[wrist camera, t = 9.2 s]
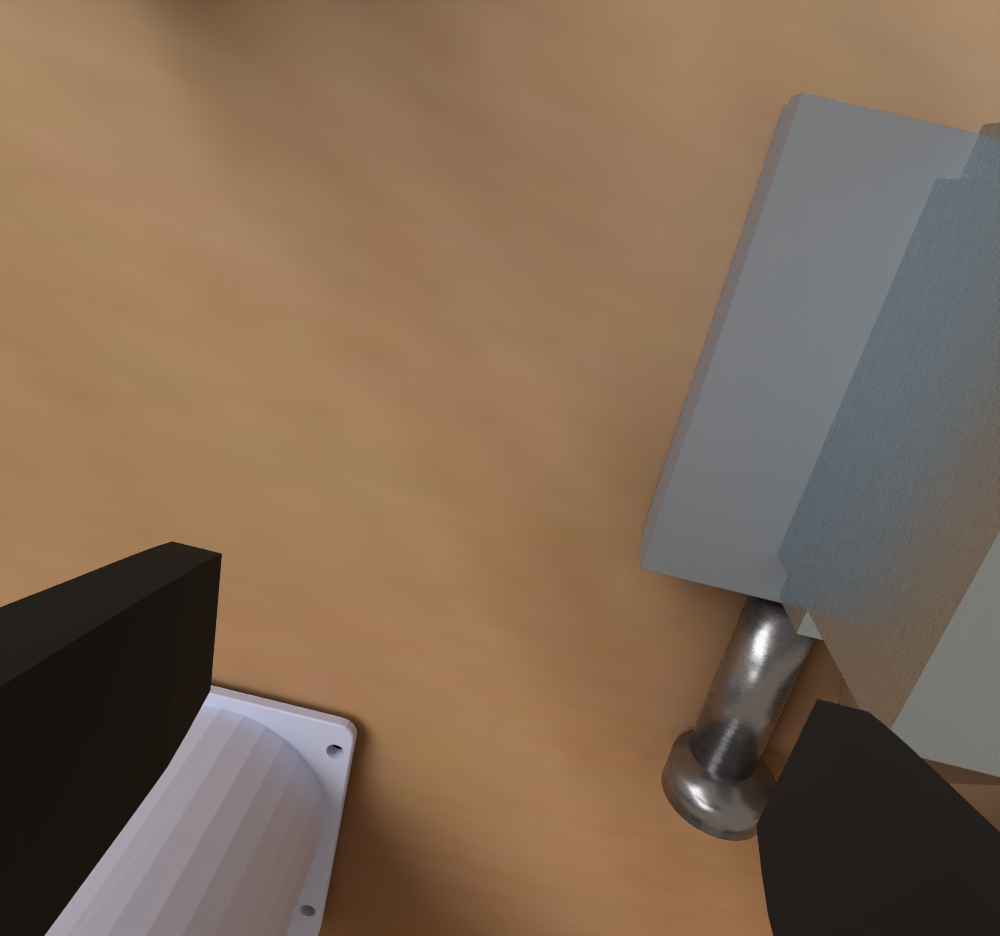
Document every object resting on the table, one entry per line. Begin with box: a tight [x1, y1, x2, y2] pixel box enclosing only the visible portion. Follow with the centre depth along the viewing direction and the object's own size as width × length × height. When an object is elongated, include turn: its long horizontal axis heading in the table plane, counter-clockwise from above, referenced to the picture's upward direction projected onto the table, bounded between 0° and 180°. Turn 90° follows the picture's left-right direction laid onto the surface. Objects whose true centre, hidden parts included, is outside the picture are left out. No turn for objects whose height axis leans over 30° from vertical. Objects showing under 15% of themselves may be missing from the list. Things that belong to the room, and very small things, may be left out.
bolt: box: [661, 595, 816, 841], centre depth 19 cm, size 6×3×3 cm, turn 168°
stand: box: [638, 93, 979, 603], centre depth 16 cm, size 10×10×2 cm
